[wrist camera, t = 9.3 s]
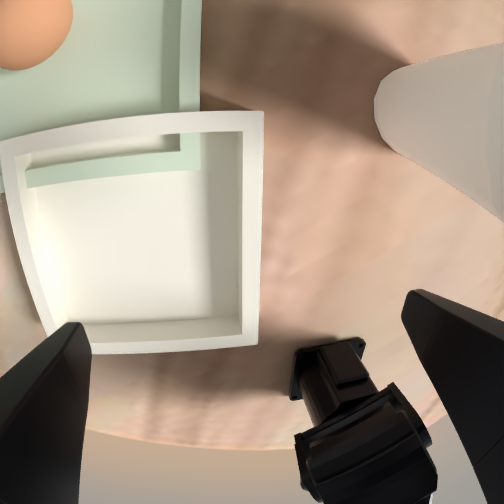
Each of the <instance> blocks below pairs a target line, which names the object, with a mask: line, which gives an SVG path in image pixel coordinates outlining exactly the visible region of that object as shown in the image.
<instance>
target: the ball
mask: <svg viewBox="0 0 504 504" xmlns="http://www.w3.org/2000/svg"><path fill="white" fill-rule="evenodd" d="M72 20H73V5H72V2H71V0H0V67H1V68H3V69H7V70H24V69H28V68H31V67H34V66H36V65H38V64H40V63H42V62H44V61H45V60H47V59H48V58H49V57H51V56H52V55H53V54H54V53H55V52H56V51H57V50H58V49H59V47H60V46H61V45H62V43H63V42H64V40H65V39H66V37H67V35H68V33H69V31H70V28H71V25H72Z"/></svg>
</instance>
